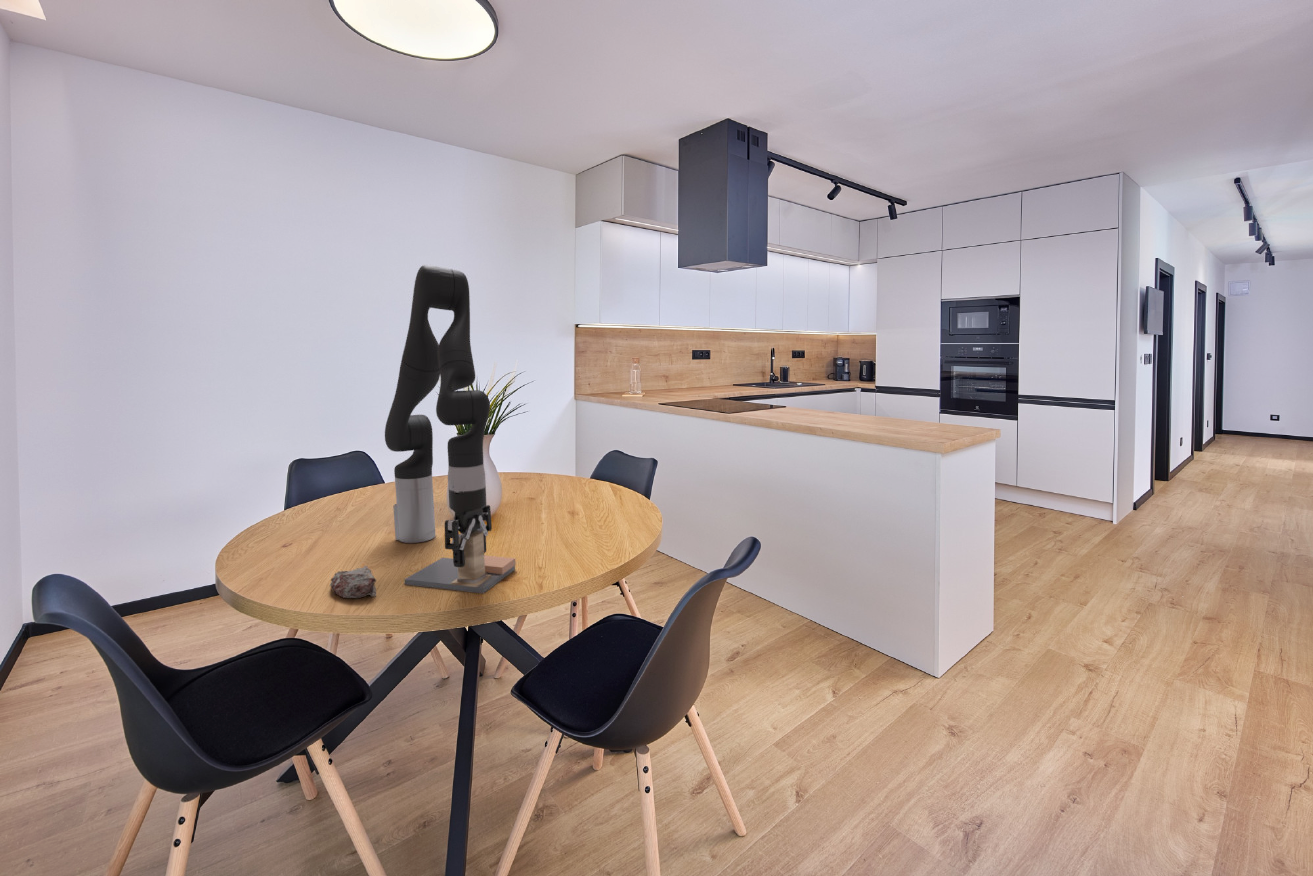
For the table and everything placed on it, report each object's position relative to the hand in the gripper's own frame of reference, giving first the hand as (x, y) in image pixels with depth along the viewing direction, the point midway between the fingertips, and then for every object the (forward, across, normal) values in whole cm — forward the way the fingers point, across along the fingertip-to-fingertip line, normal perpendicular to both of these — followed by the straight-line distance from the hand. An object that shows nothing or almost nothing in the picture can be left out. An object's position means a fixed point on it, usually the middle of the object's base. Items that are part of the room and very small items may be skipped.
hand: (470, 559), depth 128 cm
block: (+4, 0, 0) cm, 4 cm away
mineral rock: (+6, +9, -23) cm, 25 cm away
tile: (+4, -8, -3) cm, 9 cm away
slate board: (+6, -4, -5) cm, 9 cm away
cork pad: (+5, 0, 0) cm, 5 cm away
